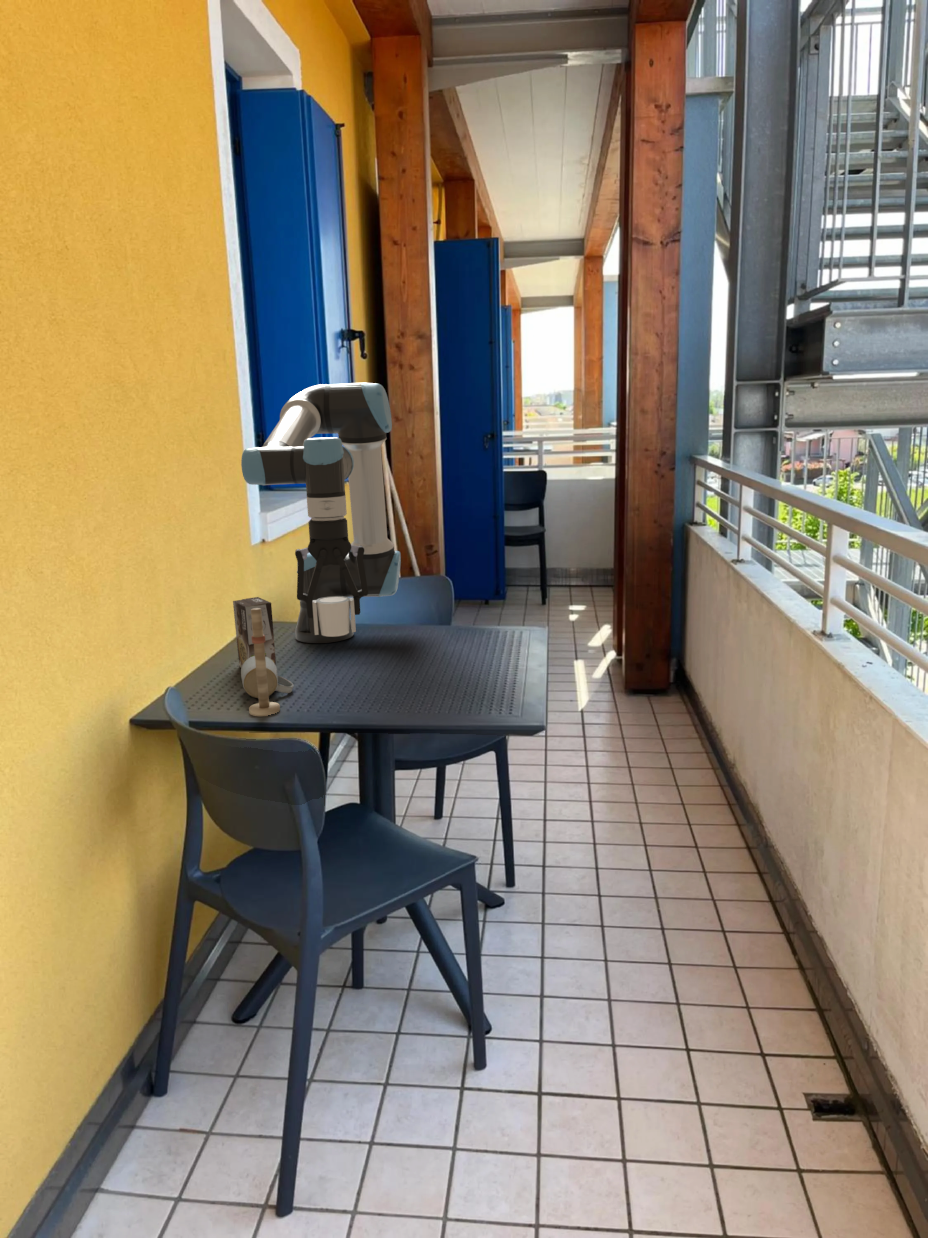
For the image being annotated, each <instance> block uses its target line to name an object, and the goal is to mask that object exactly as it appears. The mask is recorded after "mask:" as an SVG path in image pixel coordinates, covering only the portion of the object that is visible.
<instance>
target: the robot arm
mask: <svg viewBox="0 0 928 1238" xmlns="http://www.w3.org/2000/svg"><path fill="white" fill-rule="evenodd" d="M390 407H391V406H390V401H389V398H388V394H387V392H386V389H385V388H384V386H383V385H382V384H380V383H376V382H375V383H373V382H351V383H350V382H349V383H332V384H327V383H325V384H323V383H322V384H321V383H320V384H316V385H312V386H309V387H307V388H304V389H303V390H302V391H299V392H298V393H296V394H295V395H293V396H292V397H291V398H289V400H287V401H286V402H285V404H284V405H283V406H282V408H281V410H280V412H279V421H278V422H277V423H276V425H275V427H274V428H273V430H272V431H271V432H270V434H269V435H268V437H267V438H266V440H265V442H264V443H263V445H262V446H261V447H259V446H254V447H248V448H245V449H244V450H243V451H242V455H241V460H240V461H241V464H240V465H241V472H242V473H241V474H242V477H243V479H244V481H245V482H246V484H248V485H254V486H255V485H259V486H263V487H264V486H272V485H274V486H275V485H295V484H296V485H297V484H299V485H300V484H302V485H304V484H305V488H306V509H307V517H309V518H310V519H309V521H308V533H309V534H308V535H309V543H308V544H307V547H304V548H297V549H295V553H294V555H295V558H296V561H297V565H296V566H297V567H296V568H297V569H296V574H297V583H296V584H297V586H296V599H297V600H298V601H299V614H298V617H297V622H296V627H295V629H294V631H295V640H297V641H298V642H302V643H305V644H306V643H308V644H328V643H329V644H330V643H336V642H340V641H341V642H343V641H345V640H348V639H350V638H352V637H354V634H355V633H356V632H357V630H356V626H357V625H356V616H358V615H360V613H361V602H360V601H361V598H363V597H364V598H366V597H370V598H371V597H372V598H373V597H377V598H380V597H381V598H382V597H390V596H393V595H395V594H396V593H397V590H398V587H399V581H400V572H401V563H402V562H401V560H402V559H401V557H402V556H401V551H399V550H395V544H394V542H393V541H392V540H390V539H389V538H388V528H387V527H388V526H387V516H386V515H387V514H386V501H385V500H386V499H385V498H386V497H385V486H384V485H385V484H384V474H383V473H384V472H383V459H382V445H383V444H384V443H385V441H386V440H387V433H390V432H392V430H393V429H392V428H393V421H392V412H391V408H390ZM317 434H318V435H319V434H323V435H325V434H337V435H338V437H337V436H336V437H334V436H333V437H332V436H330V437H327V436H325V437H321V436H320V437H314V436H315V435H317ZM347 479H348V487H349V488H348V489H349V500H350V513H351V523H352V524H351V525H352V534H353V541H351V542H350V540H349V532H348V531H349V530H348V529H349V528H348V519H347V518H346V517H345V516H347V514H348V513H347V510H348V509H347V499H346V495H347V494H346V485H345V484H346V483H345V482H346V481H345V480H347ZM330 596H344V597H348V598H350V620H349V633H348V634H346V635H343V636H335V637H329V636H323V635H321V629H320V623H319V616H318V610H317V604H316V600H317V599H319V598H323V597H330Z"/></svg>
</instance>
